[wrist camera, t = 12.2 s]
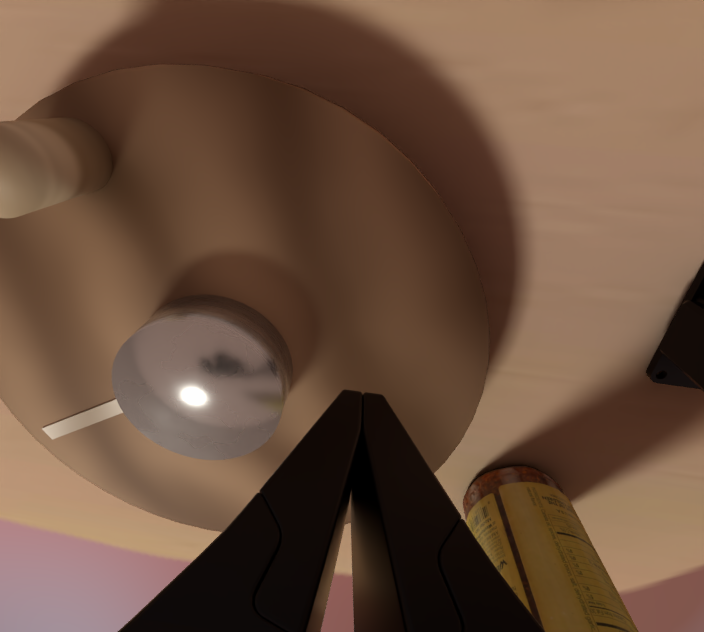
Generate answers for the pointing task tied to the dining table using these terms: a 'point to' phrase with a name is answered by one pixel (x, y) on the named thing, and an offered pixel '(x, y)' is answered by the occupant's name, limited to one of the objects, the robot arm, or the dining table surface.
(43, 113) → the turntable
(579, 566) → the sauce bottle
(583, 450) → the dining table surface
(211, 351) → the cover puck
